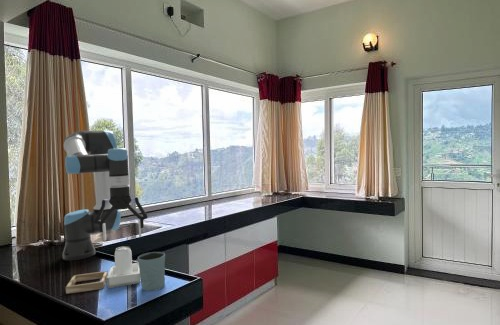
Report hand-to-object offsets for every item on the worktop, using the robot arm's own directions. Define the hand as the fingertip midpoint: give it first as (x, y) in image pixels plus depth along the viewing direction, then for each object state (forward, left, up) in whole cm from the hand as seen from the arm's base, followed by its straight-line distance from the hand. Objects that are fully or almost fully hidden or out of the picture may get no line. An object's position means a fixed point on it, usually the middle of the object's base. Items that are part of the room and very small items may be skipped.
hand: (122, 238), depth 136 cm
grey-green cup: (+12, +11, -17) cm, 24 cm away
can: (0, 0, -16) cm, 16 cm away
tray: (0, 0, -17) cm, 17 cm away
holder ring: (0, -14, -17) cm, 22 cm away
